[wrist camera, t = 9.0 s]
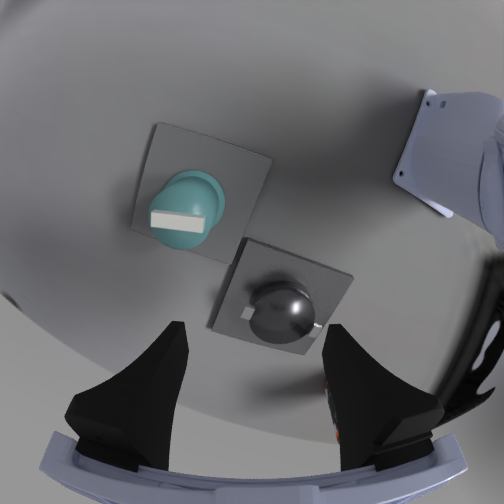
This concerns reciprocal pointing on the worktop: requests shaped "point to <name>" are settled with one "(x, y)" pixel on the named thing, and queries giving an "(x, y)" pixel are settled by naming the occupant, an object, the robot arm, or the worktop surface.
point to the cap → (186, 209)
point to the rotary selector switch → (279, 298)
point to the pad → (214, 163)
